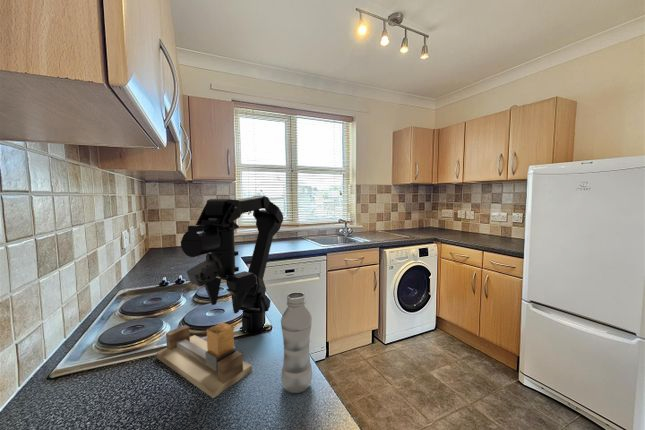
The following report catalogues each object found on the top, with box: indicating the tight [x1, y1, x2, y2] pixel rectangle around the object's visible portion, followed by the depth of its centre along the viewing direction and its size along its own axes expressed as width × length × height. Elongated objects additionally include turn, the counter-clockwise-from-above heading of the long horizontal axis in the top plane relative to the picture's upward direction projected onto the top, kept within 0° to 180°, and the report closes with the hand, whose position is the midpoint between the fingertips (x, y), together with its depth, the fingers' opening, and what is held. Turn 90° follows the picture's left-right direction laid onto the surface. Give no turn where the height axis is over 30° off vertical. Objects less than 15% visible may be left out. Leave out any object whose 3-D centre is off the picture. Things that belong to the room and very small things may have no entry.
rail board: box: [156, 324, 253, 399], centre depth 64 cm, size 10×24×6 cm, turn 56°
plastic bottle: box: [280, 291, 313, 394], centre depth 56 cm, size 6×7×20 cm
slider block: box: [206, 322, 237, 372], centre depth 59 cm, size 5×4×8 cm
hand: (224, 308), depth 68 cm, fingers open, 9 cm apart
